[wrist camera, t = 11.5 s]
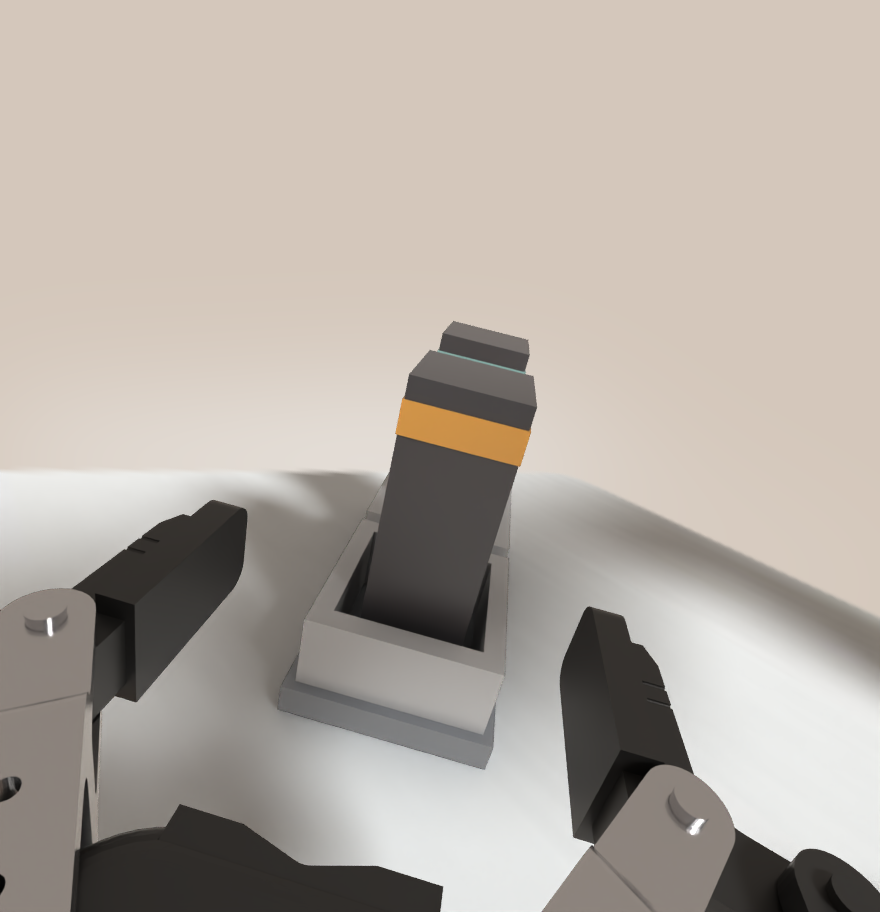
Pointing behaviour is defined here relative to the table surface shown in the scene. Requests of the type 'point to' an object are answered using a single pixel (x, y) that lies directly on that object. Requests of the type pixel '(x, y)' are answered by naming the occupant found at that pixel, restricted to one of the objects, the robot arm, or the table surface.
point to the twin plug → (485, 347)
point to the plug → (446, 493)
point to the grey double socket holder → (402, 661)
